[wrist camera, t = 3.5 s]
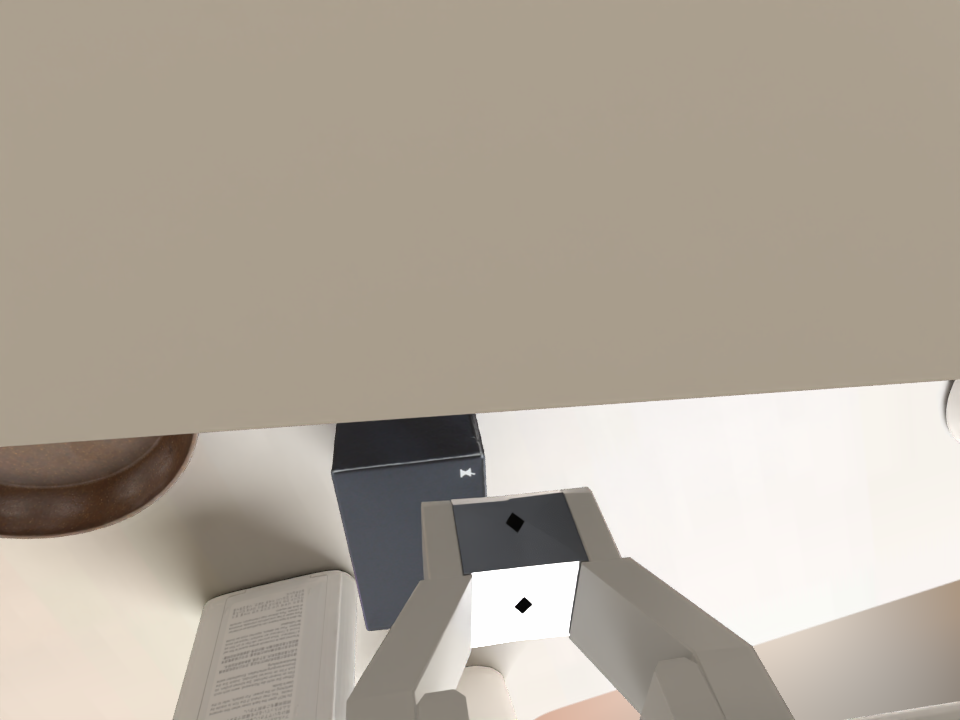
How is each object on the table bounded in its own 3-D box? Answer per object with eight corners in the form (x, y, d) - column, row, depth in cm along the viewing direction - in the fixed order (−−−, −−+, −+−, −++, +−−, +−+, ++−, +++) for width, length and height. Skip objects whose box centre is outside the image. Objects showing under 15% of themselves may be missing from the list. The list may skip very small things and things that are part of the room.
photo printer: (220, 633, 42) (172, 845, 32) (194, 596, 40) (133, 810, 30) (365, 597, 43) (364, 794, 32) (347, 558, 40) (340, 757, 30)
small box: (334, 336, 32) (321, 471, 23) (458, 322, 32) (491, 448, 24) (363, 485, 37) (361, 639, 29) (468, 470, 38) (498, 617, 29)
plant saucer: (-59, 99, 24) (-110, 112, 21) (283, 374, 33) (276, 407, 30) (-288, 360, 28) (-355, 398, 25) (73, 543, 37) (51, 586, 34)
